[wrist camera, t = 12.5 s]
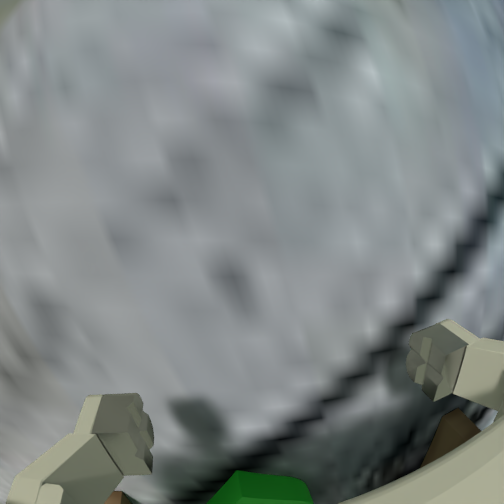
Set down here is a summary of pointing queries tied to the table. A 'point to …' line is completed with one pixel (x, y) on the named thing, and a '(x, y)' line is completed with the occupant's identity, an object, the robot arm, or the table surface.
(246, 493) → the mechanical part
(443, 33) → the table surface
